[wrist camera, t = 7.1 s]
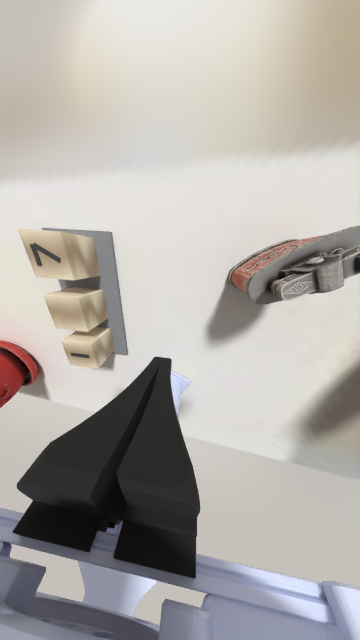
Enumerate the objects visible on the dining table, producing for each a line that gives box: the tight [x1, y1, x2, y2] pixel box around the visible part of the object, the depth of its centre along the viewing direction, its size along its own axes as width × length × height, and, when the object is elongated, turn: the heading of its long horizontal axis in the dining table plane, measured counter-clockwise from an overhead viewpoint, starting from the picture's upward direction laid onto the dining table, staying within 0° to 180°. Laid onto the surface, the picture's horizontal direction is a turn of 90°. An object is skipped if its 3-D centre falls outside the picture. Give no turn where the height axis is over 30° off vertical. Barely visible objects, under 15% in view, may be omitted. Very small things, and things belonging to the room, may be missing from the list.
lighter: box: [228, 226, 360, 304], centre depth 12 cm, size 8×3×10 cm, turn 118°
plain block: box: [43, 287, 109, 332], centre depth 18 cm, size 4×4×4 cm
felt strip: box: [42, 228, 128, 355], centre depth 21 cm, size 19×9×1 cm, turn 176°
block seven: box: [18, 229, 101, 280], centre depth 16 cm, size 4×4×5 cm
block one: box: [61, 327, 114, 369], centre depth 21 cm, size 4×4×5 cm
